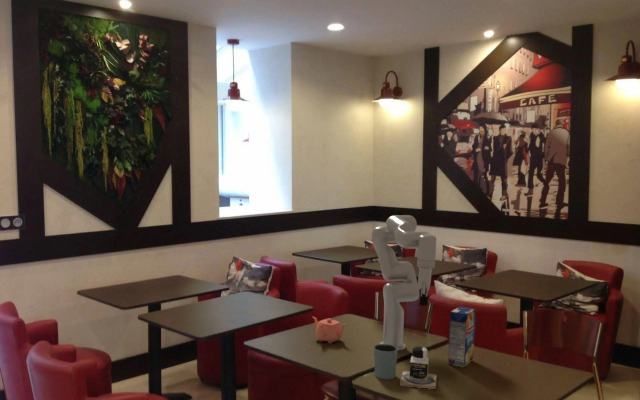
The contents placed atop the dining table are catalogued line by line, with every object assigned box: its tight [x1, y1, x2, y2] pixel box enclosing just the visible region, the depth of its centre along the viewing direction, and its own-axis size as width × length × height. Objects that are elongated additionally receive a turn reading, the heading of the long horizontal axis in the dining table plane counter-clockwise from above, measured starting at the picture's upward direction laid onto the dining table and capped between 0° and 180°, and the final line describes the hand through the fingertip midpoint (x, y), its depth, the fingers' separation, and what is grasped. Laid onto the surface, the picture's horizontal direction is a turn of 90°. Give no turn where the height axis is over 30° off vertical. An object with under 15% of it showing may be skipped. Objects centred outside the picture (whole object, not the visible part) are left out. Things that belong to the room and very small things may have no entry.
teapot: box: [312, 316, 347, 344], centre depth 290 cm, size 14×14×11 cm
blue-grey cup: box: [373, 343, 399, 381], centre depth 246 cm, size 10×10×12 cm
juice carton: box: [447, 306, 477, 366], centre depth 264 cm, size 12×8×24 cm, turn 147°
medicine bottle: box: [409, 346, 429, 380], centre depth 240 cm, size 7×7×12 cm
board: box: [399, 370, 438, 390], centre depth 241 cm, size 14×14×2 cm
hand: (423, 305), depth 254 cm, fingers closed
